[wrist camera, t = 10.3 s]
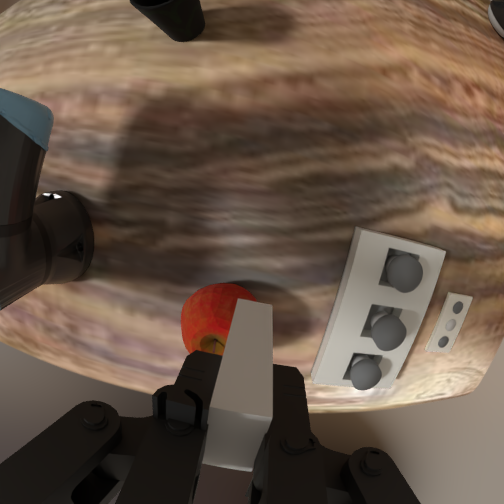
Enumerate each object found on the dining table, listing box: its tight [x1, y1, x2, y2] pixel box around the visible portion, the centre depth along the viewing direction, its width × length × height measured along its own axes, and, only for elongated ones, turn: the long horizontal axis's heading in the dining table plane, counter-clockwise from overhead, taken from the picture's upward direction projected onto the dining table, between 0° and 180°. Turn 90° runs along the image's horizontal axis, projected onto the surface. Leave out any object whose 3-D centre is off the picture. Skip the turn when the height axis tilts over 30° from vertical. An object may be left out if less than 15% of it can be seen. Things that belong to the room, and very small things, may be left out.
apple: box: [181, 283, 257, 356], centre depth 36 cm, size 11×11×11 cm
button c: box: [350, 353, 382, 390], centre depth 39 cm, size 5×5×5 cm
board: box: [311, 226, 446, 389], centre depth 39 cm, size 14×24×3 cm, turn 169°
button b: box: [370, 311, 407, 351], centre depth 36 cm, size 5×5×5 cm
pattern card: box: [425, 292, 473, 353], centre depth 40 cm, size 6×11×1 cm, turn 169°
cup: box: [130, 0, 205, 42], centre depth 26 cm, size 8×8×12 cm
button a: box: [385, 254, 423, 293], centre depth 35 cm, size 5×5×5 cm
